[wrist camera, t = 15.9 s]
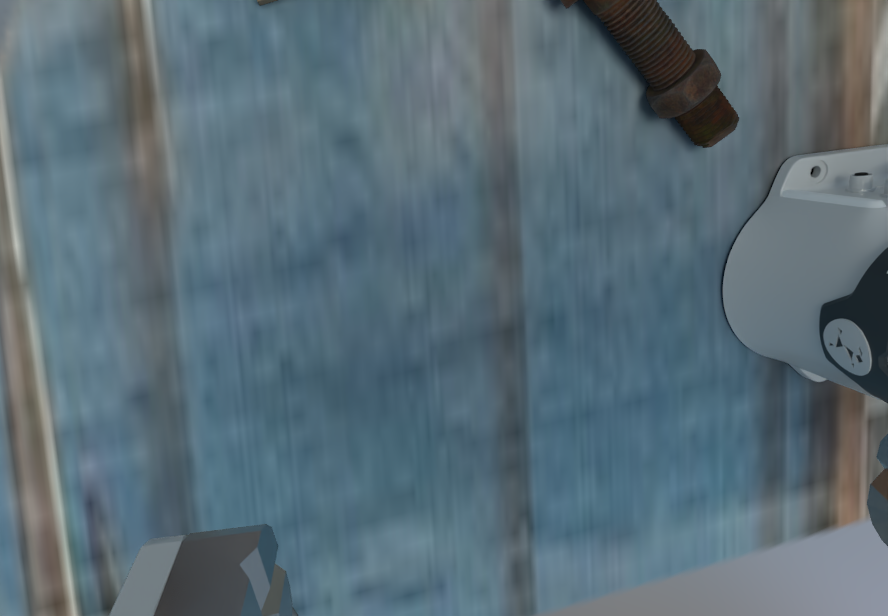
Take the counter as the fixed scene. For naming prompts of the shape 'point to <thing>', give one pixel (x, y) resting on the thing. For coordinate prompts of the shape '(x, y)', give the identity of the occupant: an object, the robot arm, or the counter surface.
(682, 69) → the bolt
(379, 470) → the counter surface
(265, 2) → the board
